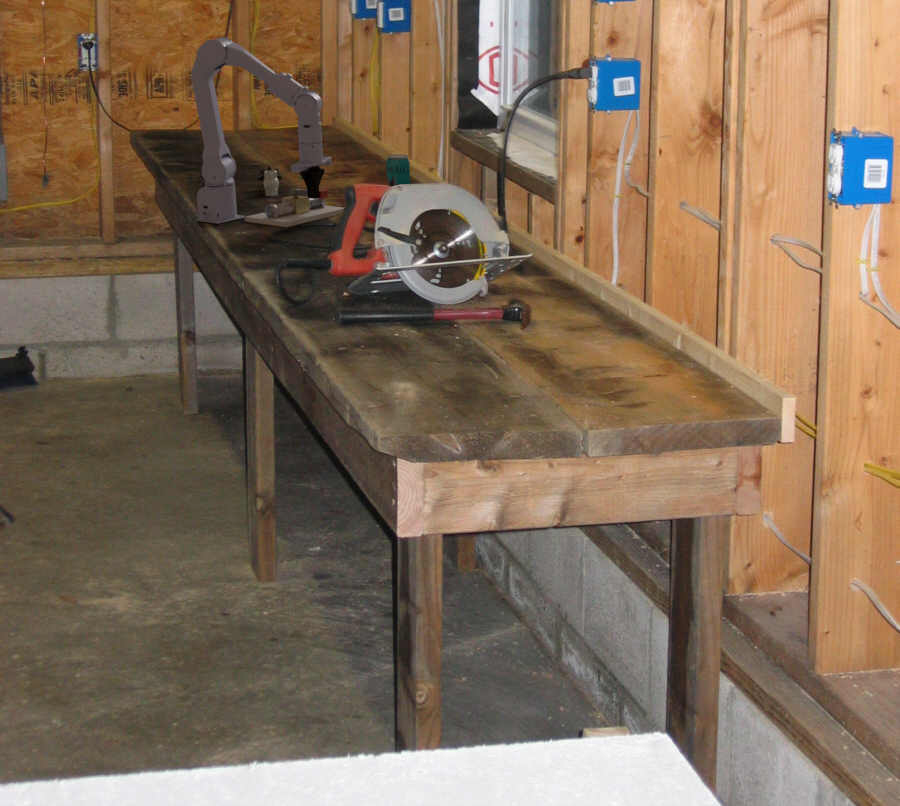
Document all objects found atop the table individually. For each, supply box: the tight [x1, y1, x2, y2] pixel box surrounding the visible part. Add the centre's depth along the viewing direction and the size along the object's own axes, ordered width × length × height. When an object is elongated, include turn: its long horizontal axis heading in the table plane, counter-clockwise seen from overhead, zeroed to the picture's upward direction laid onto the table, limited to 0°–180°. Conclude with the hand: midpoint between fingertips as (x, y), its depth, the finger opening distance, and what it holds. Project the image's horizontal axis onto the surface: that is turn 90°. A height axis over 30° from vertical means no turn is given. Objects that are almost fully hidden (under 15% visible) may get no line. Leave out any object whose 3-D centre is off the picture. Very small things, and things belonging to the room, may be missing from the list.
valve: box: [257, 165, 283, 197], centre depth 391 cm, size 7×7×12 cm
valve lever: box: [289, 187, 329, 199], centre depth 352 cm, size 10×3×2 cm, turn 61°
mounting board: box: [244, 205, 345, 228], centre depth 356 cm, size 22×14×1 cm, turn 142°
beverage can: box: [385, 154, 411, 186], centre depth 351 cm, size 6×6×15 cm
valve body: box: [264, 195, 327, 219], centre depth 355 cm, size 18×5×4 cm, turn 142°
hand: (313, 198), depth 350 cm, fingers closed, pressing on valve lever
